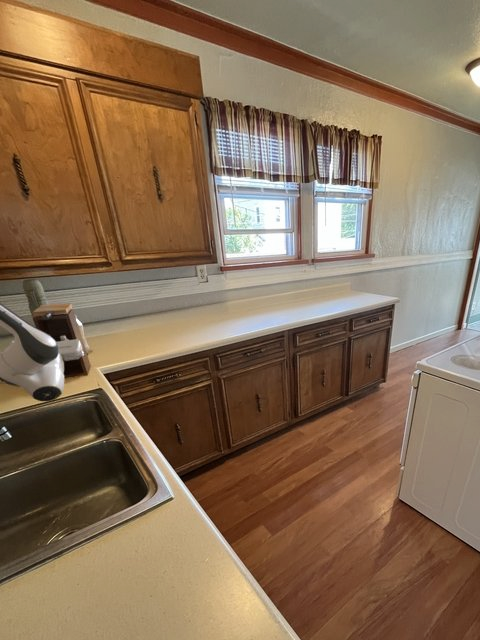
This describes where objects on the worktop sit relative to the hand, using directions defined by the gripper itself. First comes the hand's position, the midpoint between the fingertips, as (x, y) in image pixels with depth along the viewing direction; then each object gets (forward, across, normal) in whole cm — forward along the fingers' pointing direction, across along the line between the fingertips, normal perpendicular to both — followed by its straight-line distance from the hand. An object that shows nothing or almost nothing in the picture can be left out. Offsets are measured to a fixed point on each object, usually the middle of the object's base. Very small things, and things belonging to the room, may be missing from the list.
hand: (47, 339), depth 117 cm
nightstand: (+14, 0, +27) cm, 31 cm away
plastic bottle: (+38, -3, +37) cm, 53 cm away
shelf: (+21, -1, +2) cm, 21 cm away
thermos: (+54, +11, +42) cm, 69 cm away
